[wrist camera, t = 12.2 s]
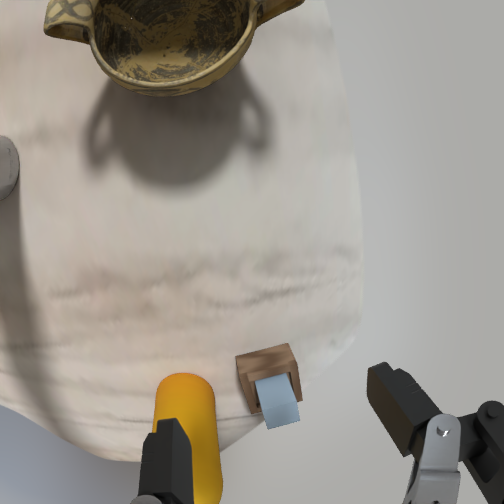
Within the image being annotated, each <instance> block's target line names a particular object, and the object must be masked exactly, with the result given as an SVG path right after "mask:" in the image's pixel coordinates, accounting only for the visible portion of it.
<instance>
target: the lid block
mask: <svg viewBox="0 0 504 504" xmlns="http://www.w3.org/2000/svg"><path fill="white" fill-rule="evenodd" d="M255 384H256V388H257V392H258V396H259V400H260V404H261V408H262V412H263V415H264V419H265V422H266V425H267V428H268V429H271V428H275V427H279V426H283V425H287V424H290V423H294V422H297V421H300V418H299V412H298V406H297V400H296V398H295V395H294V392H293V390H292V387H291V385H290V382H289V379H288V377H287V374H286V373H283V374H279V375H275V376H272V377H268V378H264V379H260V380H256V381H255Z"/></svg>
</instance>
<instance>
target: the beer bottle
mask: <svg viewBox="0 0 504 504" xmlns="http://www.w3.org/2000/svg"><path fill="white" fill-rule="evenodd" d="M169 418H177V419H178V421H179V423H180V424H181V426H182V428H183V429H184V431H185V433H186V434H187V436H188V438H189V440H190V443H191V447H192V466H193V489H194V504H219V502H220V500H221V495H222V491H223V478H222V472H221V463H220V454H219V444H218V434H217V424H216V413H215V397H214V392H213V390H212V387H211V386H210V385H209V383H208V382H207V381H206V380H204V379H203V378H201V377H199V376H197V375H194V374H189V373H177V374H173V375H170V376H168V377H166V378H165V379H163V380H162V382H161V383H160V384H159V386H158V388H157V392H156V400H155V411H154V419H153V428H152V433H155V432H156V427H157V421H158V420H161V419H169Z"/></svg>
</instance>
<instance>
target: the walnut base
mask: <svg viewBox="0 0 504 504" xmlns="http://www.w3.org/2000/svg"><path fill="white" fill-rule="evenodd" d="M236 361H237V367H238V372H239V378H240V381H241V384H242V387H243V390H244V393H245V396H246V399H247V402H248V405H249V408H250V411H251V414H254V413H258V412H262V408H261V404H260V400H259V396H258V392H257V388H256V384H255V381H256V380H260V379H264V378H268V377H272V376H275V375H279V374H283V373H286V374H287V377H288V379H289V382H290V385H291V387H292V390H293V392H294V395H295V398H296V400H297V402H299V401H302V400H303V399H302V392H301V385H300V379H299V372H298V366H297V362H296V360H295V357H294V355H293V353H292V351H291V348H290V346H289V344H288V343H285V344H282V345H278V346H274V347H271V348H267V349H263V350H259V351H255V352H251V353H247V354H243V355H239V356H236Z"/></svg>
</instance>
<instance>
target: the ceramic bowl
mask: <svg viewBox="0 0 504 504" xmlns="http://www.w3.org/2000/svg"><path fill="white" fill-rule="evenodd" d="M304 1H305V0H51V1H50V2H49V3H48V6H47V11H46V16H45V22H44V33H45V34H46V35H48V36H50V37H54V38H60V39H65V40H72V41H77V42H81V43H85V44H89V45H90V46H91V50H92V53H93V55H94V57H95V59H96V61H97V63H98V64H99V66H100V67H101V69H102V70H103V71H104V72H105V73H106V74H107V75H108V76H109V77H110V78H111V79H112V80H113V81H115V82H116V83H118V84H119V85H121V86H122V87H124V88H127V89H129V90H131V91H134V92H137V93H140V94H144V95H149V96H160V97H169V96H178V95H183V94H188V93H191V92H194V91H197V90H200V89H202V88H204V87H206V86H208V85H210V84H212V83H214V82H215V81H217V80H218V79H220V78H222V77H223V76H224V75H226V74H227V73H228V72H229V71H230V70H232V69H233V68H234V67H235V66H236V65H237V64H238V63H239V61H240V60H241V59H242V58H243V56H244V55H245V53H246V52H247V50H248V48H249V47H250V45H251V42H252V39H253V36H254V32H255V30H256V29H257V27H259V26H260V25H261V24H263V23H265V22H267V21H269V20H270V19H272V18H274V17H276V16H278V15H280V14H282V13H284V12H287V11H289V10H291V9H294V8H296V7H298V6H300V5H301V4H302V3H304ZM131 17H132V19H131ZM124 27H125V28H124ZM168 47H170V48H169V49H167V48H168ZM163 56H165V57H163Z"/></svg>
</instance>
